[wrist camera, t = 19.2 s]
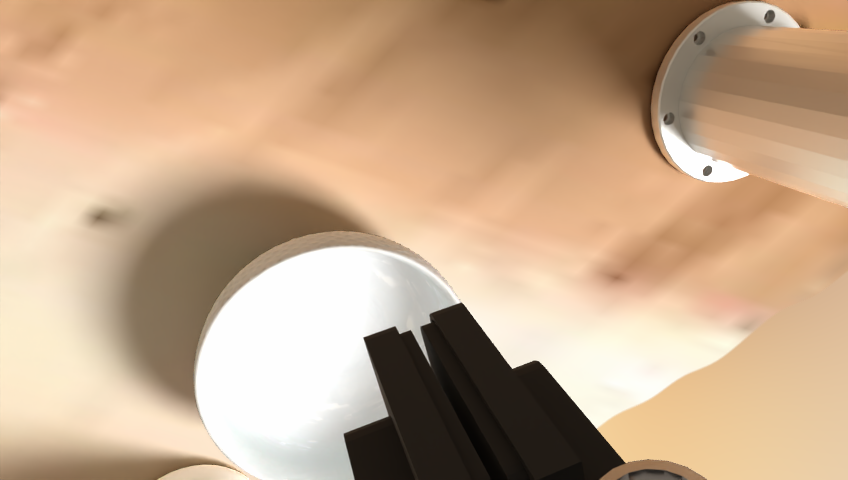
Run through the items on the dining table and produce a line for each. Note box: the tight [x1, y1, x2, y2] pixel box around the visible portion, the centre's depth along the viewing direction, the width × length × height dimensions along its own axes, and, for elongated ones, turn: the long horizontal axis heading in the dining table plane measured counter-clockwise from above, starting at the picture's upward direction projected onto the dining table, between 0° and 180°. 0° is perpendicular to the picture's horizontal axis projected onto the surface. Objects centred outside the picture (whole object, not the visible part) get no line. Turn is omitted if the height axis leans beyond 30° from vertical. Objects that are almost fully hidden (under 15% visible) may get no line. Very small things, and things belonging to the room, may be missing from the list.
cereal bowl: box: [193, 231, 461, 480], centre depth 41 cm, size 17×17×7 cm
